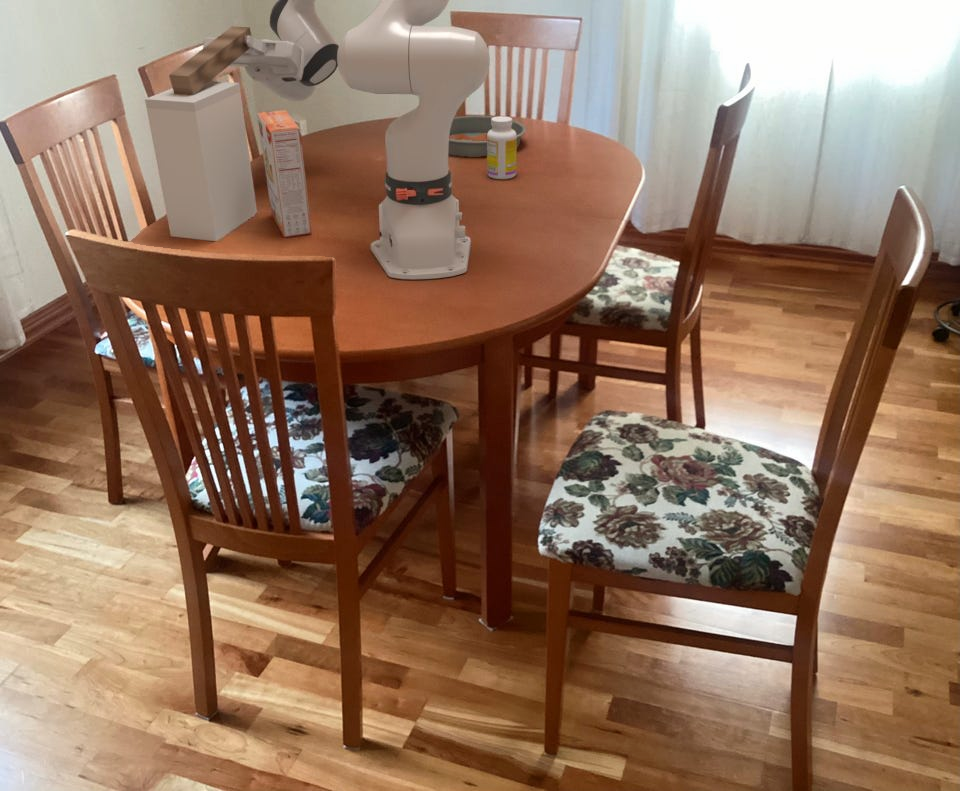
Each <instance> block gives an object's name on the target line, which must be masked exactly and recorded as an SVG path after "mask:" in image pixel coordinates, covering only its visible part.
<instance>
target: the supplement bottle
mask: <svg viewBox="0 0 960 791" xmlns="http://www.w3.org/2000/svg"><path fill="white" fill-rule="evenodd" d="M512 120H513V118H512V117H511V116H501V115H500V116H493V118H492V119H491V125H492V129H491V130H489V132H488V133H487V157H486V164H487V165H486V166H487V168H486V171H487V176H488V177H489V178H491V179H493V180H508V179H513V178H514V177H515V176H516V175H517V161H518V160H517V157H518V156H517V153H518V151H517V149H518V148H517V135H516V132H515V131H514V130H513V129H511V126H512Z"/></svg>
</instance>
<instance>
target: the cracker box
mask: <svg viewBox="0 0 960 791" xmlns="http://www.w3.org/2000/svg"><path fill="white" fill-rule="evenodd" d="M257 121H258V127H259V136H260V141H261V148H262V155H263V164H264V169H265V177H266V184H267V191H268V198H269V204H270V211H271V212H270V213H271V215H272V217H273V220H274V221H275V223H276V225H277V227H278V229H279V231H280V232H281V234H282V236H283V238H290V237H291V236H292V237H297V236H298V237H299V236H305V235H311V234H312V233H313V230H312V223H311V222H312V221H311V215H310V206H309V205H310V204H309V198H308V190H307V188H308V187H307V181H306V180H307V179H306V172H305V163H304V154H303V145H302V144H303V143H302V138H301V137H302V134H301V128H300V127H299V126H298V124H297V123H296V122H295V121H294V119H293V118H292V117H291V115H290V114H289V113H288V111H287V110H286V109H283V110H275V111H273V110H271V111H262V112H258V113H257Z"/></svg>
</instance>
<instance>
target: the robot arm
mask: <svg viewBox="0 0 960 791" xmlns="http://www.w3.org/2000/svg"><path fill="white" fill-rule="evenodd" d="M449 1H450V0H379V2H378V3H377V5H376V6H375V8H374V9H373V10H372V12H371V13H370V14H369V15H368V16H367V17H366V18H365V19H364V20H363V21H362V22H360V23H359V24H357V25H356V26H354V27H353V28H351V29H349V30H348V31H347V32H346V33H345V34H344V35H343V37H342V38H341V40H340V42H339V43H338V42H337V41H336V39H335V37H334V36H333V34H332V33H331V32H330V31H329V29H328V28H327V26H326V25H325V23H323V21H322V20H321V18H320V17H319V15H318V13H317V11H316V6H315V2H316V0H277V1H276V2H275V3H274V5H273V6H272V8H271V10H270V15H269V26H270V29H271V30H272V31H273V33H274V34H275V35H276V36H277V38H278V39H279V40H271V39H267V38H265V39H264V38H263V39H258V38H255V37H253V36H252V37H251V36H243V40H242V44H243V45H245V46H246V47H250V48H249V49H248V50H247V51H246V52H245V53H243V54H242V55H241V56H240V57H239V58H237V59H236V60H235V61H234V62H233V63H231V64H230V65H229V66H228V67H240V68H244V69H245V72H246V73H247V75H248V76H249V77H250V78H251V79H252V80H254V81H255V82H257V83H259V84H260V85H261V86H263V87H264V88H267V89H269V91H270V92H272V93H274V94H275V95H276V96H278V97H280V98H282V99H284V100H286V101H290V102H303V101H305V100H307V99H309V98H310V97H311V96H312V95H313V94H314V92H315V90H316V86H318V85H320V84H321V83H324V82H325V81H326V80H327V79H329V78H330V77H332V75H333V74H334V73H335V72H336V71H337V69H338V71H339V74H340V76H341V78H342V80H343V82H345V84H346V85H347V86H348V87H349V88H351V89H353V90H356V91H361V92H365V93H369V94H370V93H371V94H374V95H413V96H417V97H418V105H417V106H416V107H415V108H413V109H412V110H410V111H408V112H406V113H404V114H402V115H400V116H398V117H397V118H396V119H394V120H393V121H392V122H391V123H390V124H389V125H388V126H387V129H386V132H385V137H384V138H385V139H384V140H385V141H384V142H385V155H386V156H385V158H386V172H385V175H384V187H385V194H386V196H385V197H384V199H383V200H382V201H381V203H378V204H379V205H378V217H379V223H378V225H379V239H377V240H375V241H373V242H371V243H370V251H371V252H372V253H373V255H374V257H375V258H376V260H377V261H378V262H379V264H380V266H381V267H382V268H383V270H384V272H385V273H386V275H387V276H388V277H390V278H394V279H400V280H433V279H441V278H448V277H449V278H450V277H454V276H458V275H461V274H464V273H467V271H468V266H469V258H470V252H471V248H472V246H471V245H472V240H471V237H470V236H467V235H466V226H465V225H460V221H462V220H463V212H461V211H460V201H459V199H457V197H455V196H454V195H453V194H452V193H453V190H452V189H453V187H452V186H453V180H452V174H451V170H450V169H449V154H448V150H449V134H450V128H451V125H452V121H453V119H454V117H456V114H457V112H458V110H459V109H460V107H461V106H462V104H463V103H464V102H465V101H466V100H467V99H468V98H469V97H470V96H471V95H472V94H473V93H475V92H476V91H477V90H478V89H479V88H481V86H483V84H484V82H485V80H486V79H487V76H488V74H489V71H490V64H491V63H490V62H491V61H490V60H491V58H490V53H489V48H488V46H487V43H486V41H485V40H484V38H483V36H482V35H481V34H480V33H479V32H478V31H475V30H472V29H467V28H463V27H457V26H454V25H453V26H452V25H426V24H427V23H430V22H432V21H433V20H435V19H437V18H438V17H439V16H440V15H441V14H442V13H443V12H444V10H445V9H446V8H447V5H448V3H449ZM221 34H222V33H221ZM221 34H220V33H219V34H218V35H217V37H219V36H220V35H221ZM217 37H212V36H205V38H204V41H203V46H202V49H203V48H205V47H206V46H207V45H208V44H210V43H211V42H212V41H214V40H215V39H216V38H217Z"/></svg>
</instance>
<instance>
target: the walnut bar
mask: <svg viewBox="0 0 960 791" xmlns="http://www.w3.org/2000/svg"><path fill="white" fill-rule="evenodd" d="M243 36H251V37H253V36H252V31H251V27H248V26H231V27H229V28H228V29H226V30H225V31H224V32H222V33H221V35H220V36H219V37H218V36H217V37H215V38H216V39H215V40H214V41H212V42H211V43H210V44H208V45H207V46H206V47H205V48H203V47H202V49H201V50H199V51H198V52H197V53H196V54H194V55H193V56H192V57H191V58H189V59H188V60H186V61H185V62H183V63H182V64H181V65H180V66H178V68H176V69H175V70H174V71H172V72H171V73H170V74H169V75H168V77H169V80H170V83H171V88H173V91H174V94H185V95H194V94H195V93H197V92H198V91H199V90H200V89H201V88H203V87H204V86H205V85H206V84H207V83H209V82H210V81H212V80H214V79H215V78H216V77H217V76H218V75H220V73H222V72H223V71H224V70H226V69H227V68H228V67H230V66H229V65H230V64H231V63H233V62H234V61H235V60H236V59H237V58H239V57H240V56H241V55H242V54H243V53H245V52H246V51H247V50H248V49H249V48H250V47H246V46H245V45H243V44H242V40H243Z"/></svg>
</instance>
